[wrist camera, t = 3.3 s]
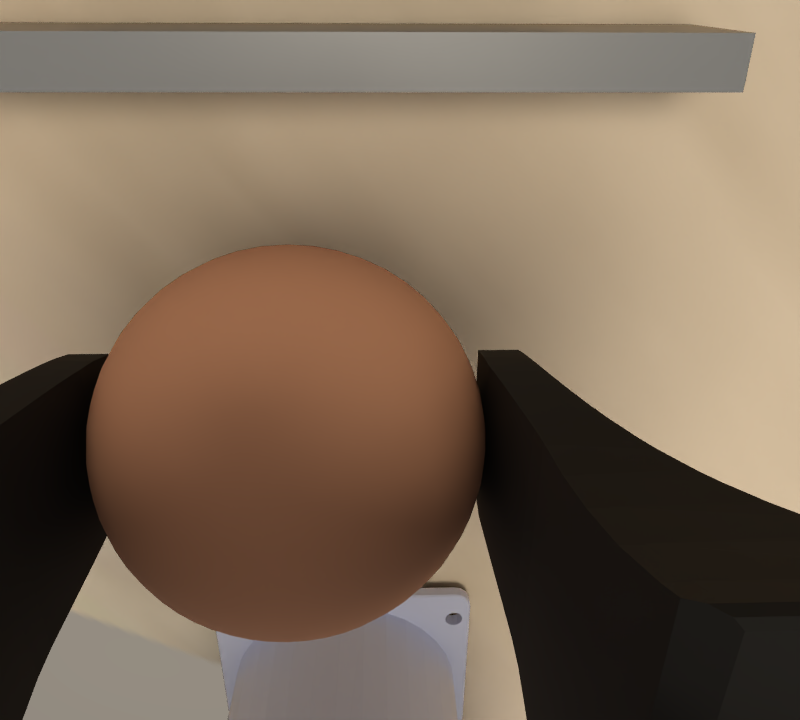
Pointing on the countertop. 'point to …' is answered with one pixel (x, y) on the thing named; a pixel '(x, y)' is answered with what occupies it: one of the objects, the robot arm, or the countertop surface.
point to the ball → (285, 443)
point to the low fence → (371, 57)
